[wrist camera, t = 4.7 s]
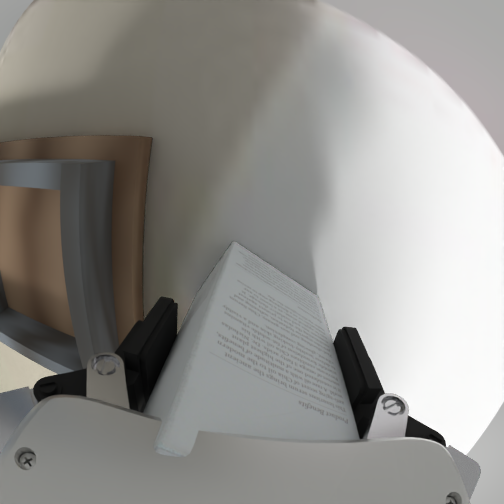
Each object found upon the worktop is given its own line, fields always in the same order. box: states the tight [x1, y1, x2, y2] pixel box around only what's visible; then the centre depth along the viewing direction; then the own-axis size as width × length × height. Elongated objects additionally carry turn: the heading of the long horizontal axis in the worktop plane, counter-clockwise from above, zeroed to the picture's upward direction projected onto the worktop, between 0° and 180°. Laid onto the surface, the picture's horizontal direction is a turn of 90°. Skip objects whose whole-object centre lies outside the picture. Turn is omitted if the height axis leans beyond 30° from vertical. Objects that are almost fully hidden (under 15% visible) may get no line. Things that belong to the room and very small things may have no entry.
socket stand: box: [0, 135, 152, 374], centre depth 14 cm, size 16×16×4 cm
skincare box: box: [143, 241, 360, 457], centre depth 10 cm, size 6×4×12 cm
